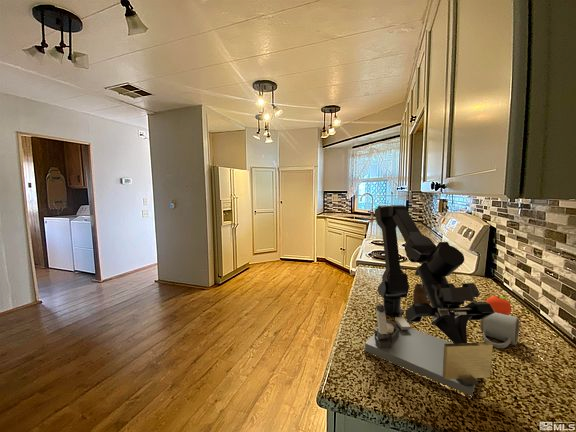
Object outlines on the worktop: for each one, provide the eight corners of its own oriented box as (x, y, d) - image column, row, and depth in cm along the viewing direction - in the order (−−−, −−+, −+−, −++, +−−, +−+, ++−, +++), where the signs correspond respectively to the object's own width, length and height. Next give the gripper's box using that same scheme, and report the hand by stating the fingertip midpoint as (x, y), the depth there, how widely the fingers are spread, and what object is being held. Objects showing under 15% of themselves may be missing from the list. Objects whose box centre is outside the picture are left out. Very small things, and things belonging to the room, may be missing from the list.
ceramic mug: (484, 327, 80) (485, 304, 79) (518, 338, 74) (520, 314, 73) (475, 341, 73) (477, 317, 72) (513, 355, 67) (515, 328, 66)
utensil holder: (412, 304, 96) (414, 274, 95) (413, 298, 102) (414, 269, 101) (430, 307, 93) (431, 276, 92) (429, 301, 99) (431, 272, 98)
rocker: (394, 320, 78) (395, 317, 77) (403, 319, 78) (403, 317, 77) (401, 329, 73) (402, 326, 73) (410, 329, 73) (410, 326, 73)
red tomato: (507, 312, 89) (508, 293, 89) (519, 322, 83) (521, 301, 82) (481, 309, 92) (482, 291, 91) (490, 319, 85) (492, 299, 84)
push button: (383, 326, 74) (383, 321, 74) (395, 331, 72) (395, 326, 72) (378, 331, 72) (378, 326, 72) (390, 336, 69) (390, 331, 69)
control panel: (387, 327, 80) (387, 315, 80) (480, 361, 64) (482, 346, 64) (364, 351, 69) (365, 336, 68) (472, 400, 52) (473, 381, 52)
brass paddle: (439, 375, 56) (441, 341, 55) (482, 373, 56) (485, 339, 55) (448, 385, 53) (450, 349, 52) (494, 383, 53) (496, 348, 52)
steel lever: (377, 338, 68) (373, 304, 70) (386, 338, 68) (383, 304, 70) (380, 340, 66) (376, 305, 68) (390, 340, 66) (386, 304, 68)
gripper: (413, 270, 58) (441, 344, 48) (490, 269, 59) (534, 341, 49) (396, 290, 67) (417, 356, 57) (464, 288, 67) (496, 353, 57)
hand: (465, 351), depth 55 cm, fingers closed
